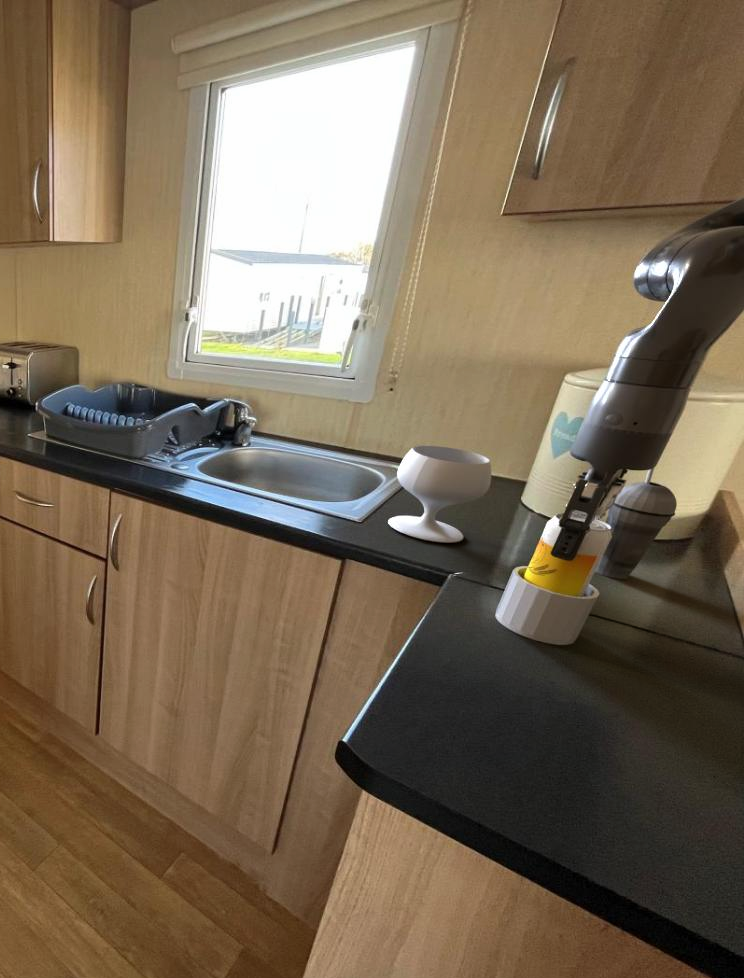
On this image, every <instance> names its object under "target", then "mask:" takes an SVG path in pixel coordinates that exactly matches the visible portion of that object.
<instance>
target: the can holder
mask: <svg viewBox="0 0 744 978" xmlns="http://www.w3.org/2000/svg"><path fill="white" fill-rule="evenodd" d="M528 566H529V565H522V566H517V567H514V569H513V570H512V572H511V574H510V576H509V579H508V581H507V584H506V586H505V588H504V591H503V593H502V596H501V598H500V600H499V603H498V605H497V607H496V610H495V614H494V616H495V619H496V620H497V621H498V622H499V623H500V624H501V625H502V626H504V627H505V628H506V629H508V630H510V631H512V633H513V632H514V633H515V634H518V635H520V636H522V637H525V638H528V639H529V640H533V641H536V642H539V643H540V642H541V643H544V644H549V645H555V646H556V645H557V646H568V645H572V644H575V642H576V641H577V640H578V637H579V636H580V634H581V631H582V630H583V628H584V626H585V624H586V621H587V620H588V618H589V617H590V614H591V612H592V610H593V608H594V606H595V605H596V602H597V600H598V598H599V596H600V592H599V590H598V588H596V587H595V586H594V585H592V584H591V583H589V585H588V587H587V589H586V591H585V593H584V595H583V597H577V596H569V595H564V594H559V593H555V592H552V591H549V590H546V589H543V588H540V587H538V586H535V585H533V584H531V583H529V582H527V581H526V580H524V579H523V578H524V575H525V573H526V571H527V568H528Z"/></svg>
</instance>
